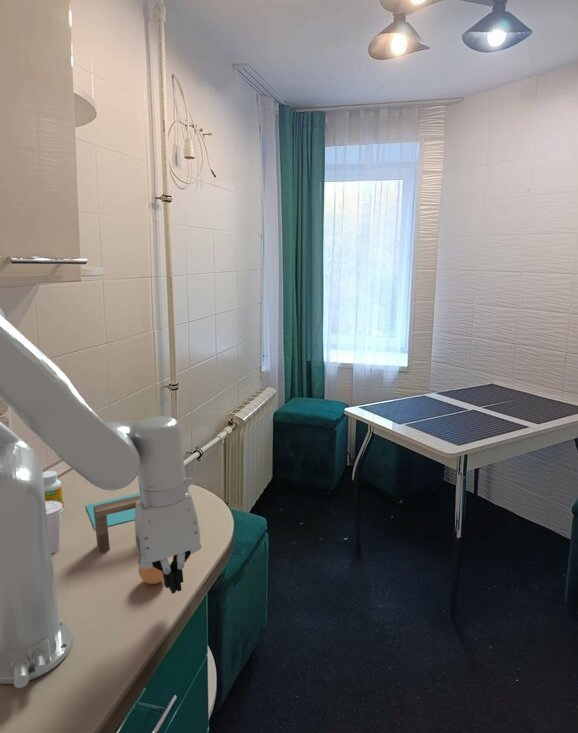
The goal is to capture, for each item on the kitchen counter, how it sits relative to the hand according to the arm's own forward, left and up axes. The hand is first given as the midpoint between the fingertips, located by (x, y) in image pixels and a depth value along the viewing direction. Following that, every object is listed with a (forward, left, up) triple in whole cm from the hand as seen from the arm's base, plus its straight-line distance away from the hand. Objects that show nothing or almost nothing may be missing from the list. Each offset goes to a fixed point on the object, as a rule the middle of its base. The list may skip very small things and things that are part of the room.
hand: (174, 587), depth 90 cm
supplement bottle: (+50, +15, -4) cm, 52 cm away
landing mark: (+42, +1, -4) cm, 42 cm away
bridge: (+27, +1, -4) cm, 27 cm away
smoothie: (+32, +17, -4) cm, 36 cm away
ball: (+10, +1, -1) cm, 10 cm away
